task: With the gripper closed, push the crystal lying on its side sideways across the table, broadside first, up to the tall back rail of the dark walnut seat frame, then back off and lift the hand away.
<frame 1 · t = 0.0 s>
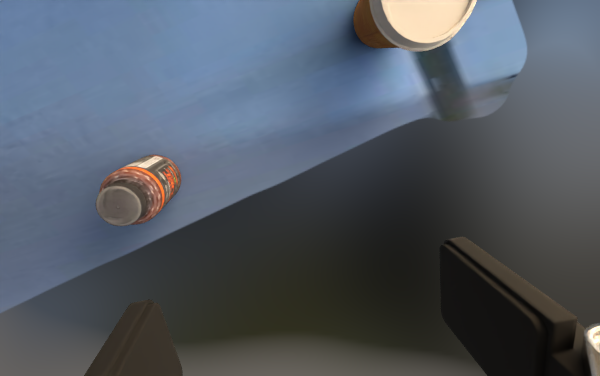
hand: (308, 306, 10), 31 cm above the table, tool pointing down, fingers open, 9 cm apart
disposable coffee cup: (378, 19, 37), on the table
supplement bottle: (158, 176, 39), on the table
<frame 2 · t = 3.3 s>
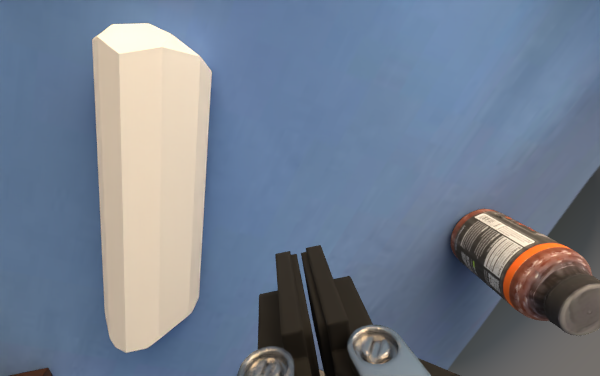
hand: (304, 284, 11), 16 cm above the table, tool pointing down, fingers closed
crystal: (160, 188, 26), on the table
supplement bottle: (474, 233, 31), on the table
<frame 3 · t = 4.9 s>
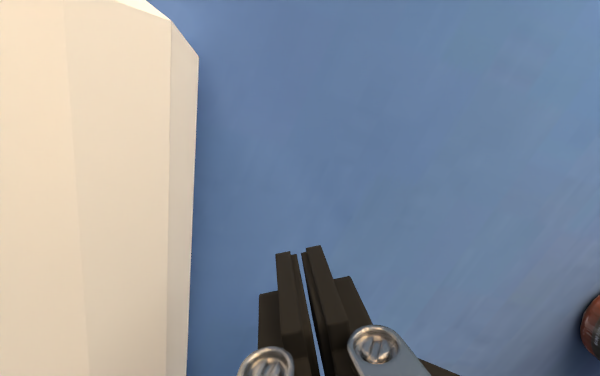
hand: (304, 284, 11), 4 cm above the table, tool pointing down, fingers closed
crystal: (115, 262, 15), on the table
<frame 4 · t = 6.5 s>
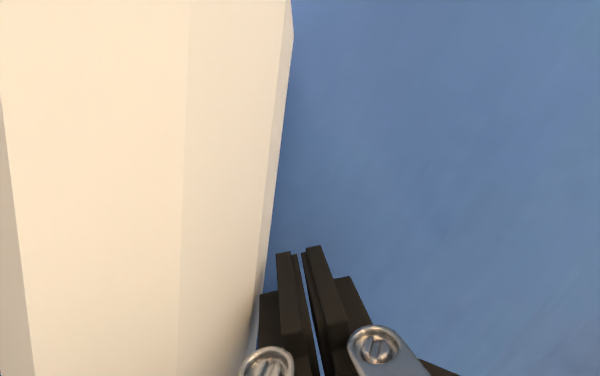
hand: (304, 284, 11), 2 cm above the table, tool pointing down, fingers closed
crystal: (170, 284, 13), on the table, touching gripper
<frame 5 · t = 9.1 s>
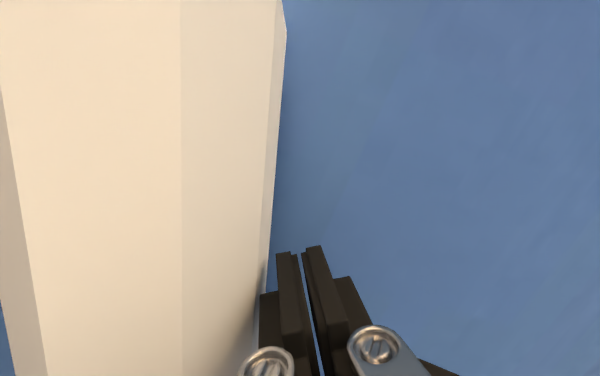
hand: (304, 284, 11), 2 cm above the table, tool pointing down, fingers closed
crystal: (175, 282, 13), on the table, touching gripper
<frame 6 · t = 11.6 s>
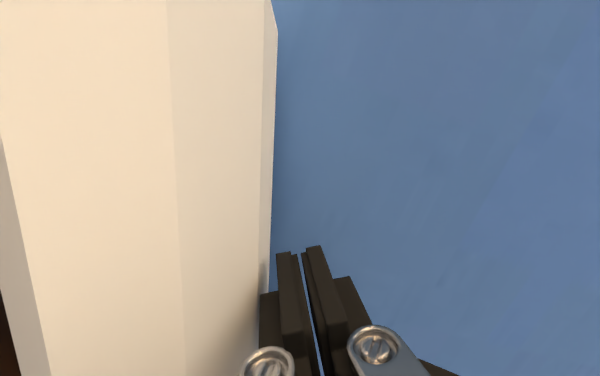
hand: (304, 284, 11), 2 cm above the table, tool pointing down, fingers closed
crystal: (178, 284, 13), on the table, touching frame, gripper
frame: (108, 287, 12), on the table
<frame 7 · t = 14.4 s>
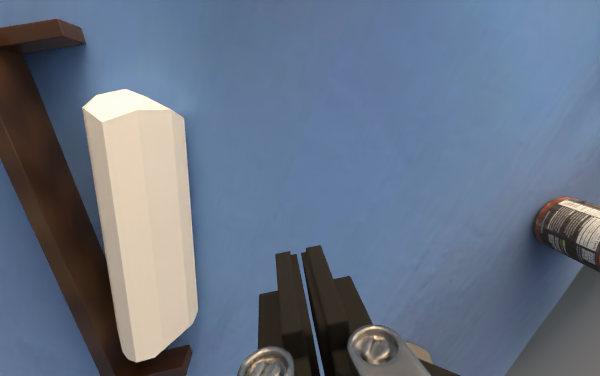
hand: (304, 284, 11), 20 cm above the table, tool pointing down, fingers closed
crystal: (154, 219, 30), on the table
coffeepot: (396, 362, 38), on the table
supplement bottle: (553, 219, 35), on the table
frame: (124, 220, 30), on the table
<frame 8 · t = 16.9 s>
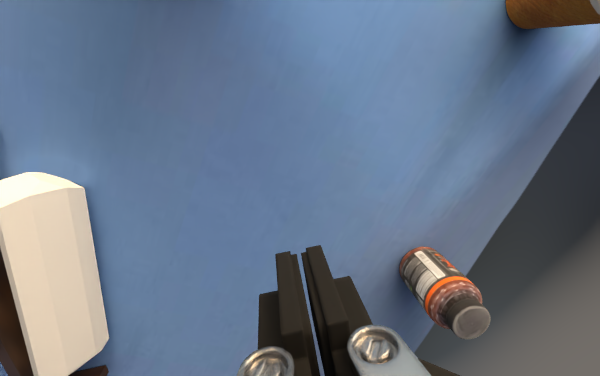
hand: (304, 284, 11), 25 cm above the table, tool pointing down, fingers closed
crystal: (68, 265, 36), on the table
supplement bottle: (418, 264, 42), on the table
frame: (42, 266, 36), on the table
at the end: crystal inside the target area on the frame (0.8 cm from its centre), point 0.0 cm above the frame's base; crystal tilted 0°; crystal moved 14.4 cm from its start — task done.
